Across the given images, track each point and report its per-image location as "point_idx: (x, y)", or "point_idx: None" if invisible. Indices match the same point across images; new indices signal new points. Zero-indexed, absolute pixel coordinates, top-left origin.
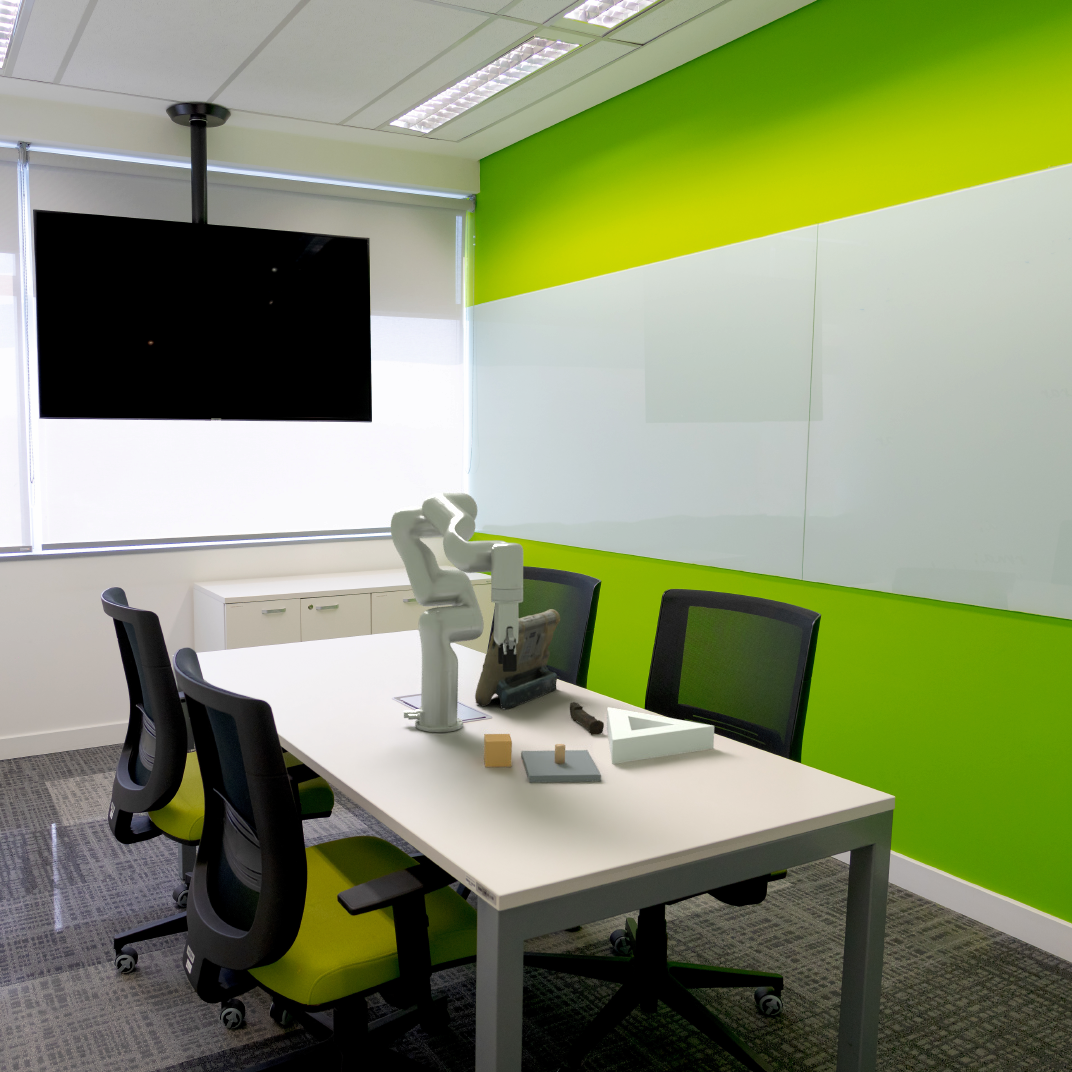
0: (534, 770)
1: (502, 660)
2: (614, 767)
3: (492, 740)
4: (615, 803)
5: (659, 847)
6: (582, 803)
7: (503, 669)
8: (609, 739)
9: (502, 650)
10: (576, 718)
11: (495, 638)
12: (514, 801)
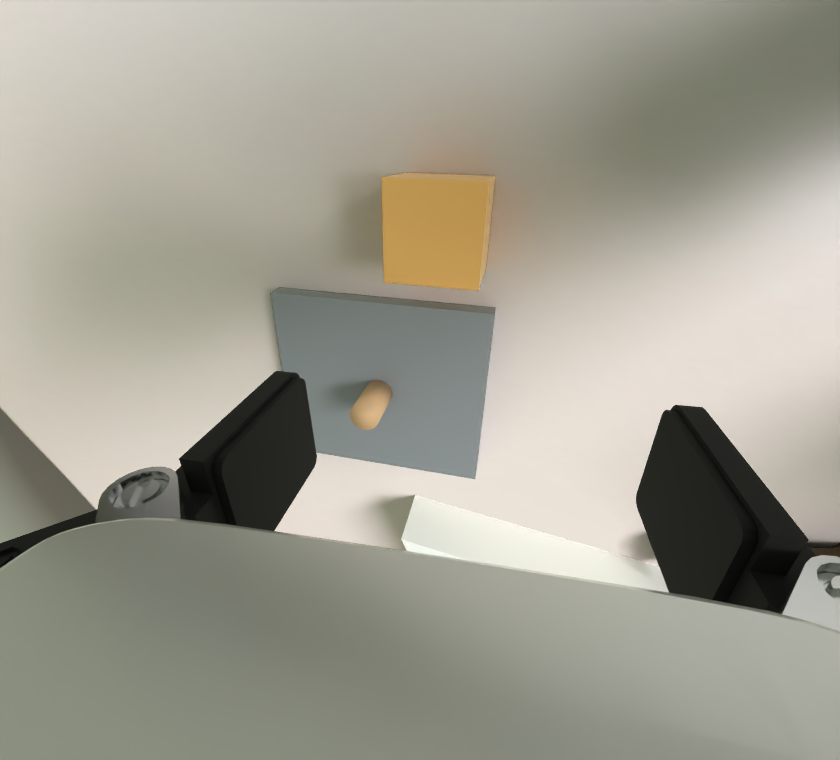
0: (312, 314)
1: (667, 455)
2: (390, 491)
3: (394, 207)
4: (186, 424)
5: (31, 422)
6: (172, 369)
7: (273, 379)
8: (558, 548)
9: (711, 542)
10: (821, 553)
11: (377, 625)
12: (146, 224)
